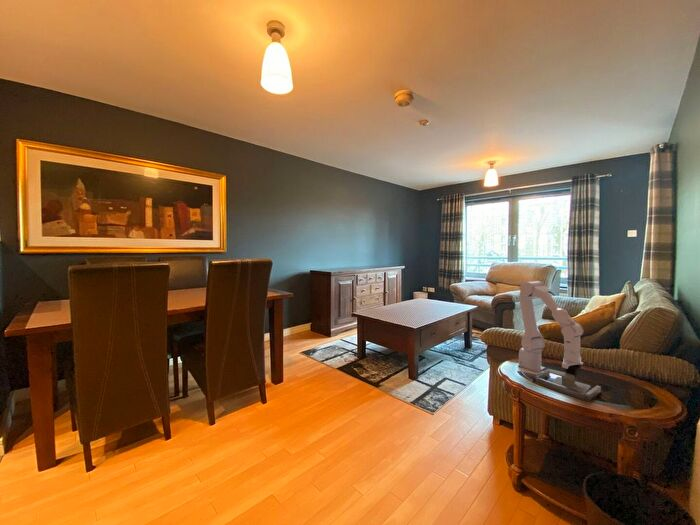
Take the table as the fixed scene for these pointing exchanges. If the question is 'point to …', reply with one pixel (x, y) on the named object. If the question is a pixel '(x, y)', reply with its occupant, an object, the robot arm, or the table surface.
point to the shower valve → (569, 381)
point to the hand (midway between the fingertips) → (571, 380)
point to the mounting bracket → (583, 396)
